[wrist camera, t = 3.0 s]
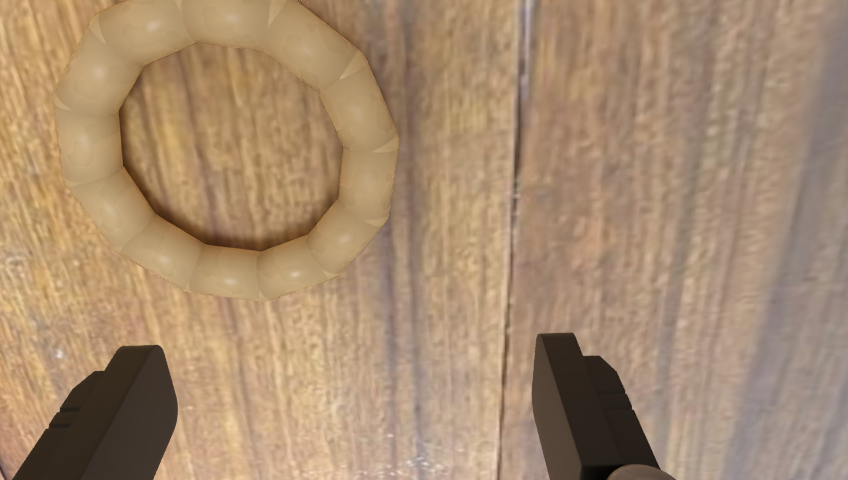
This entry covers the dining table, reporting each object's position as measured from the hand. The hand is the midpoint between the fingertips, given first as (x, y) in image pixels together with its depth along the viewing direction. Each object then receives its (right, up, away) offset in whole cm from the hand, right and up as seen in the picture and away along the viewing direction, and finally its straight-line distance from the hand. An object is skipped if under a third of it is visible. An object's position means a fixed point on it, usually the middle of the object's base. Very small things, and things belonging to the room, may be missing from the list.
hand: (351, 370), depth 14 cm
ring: (-5, +6, +9) cm, 12 cm away
